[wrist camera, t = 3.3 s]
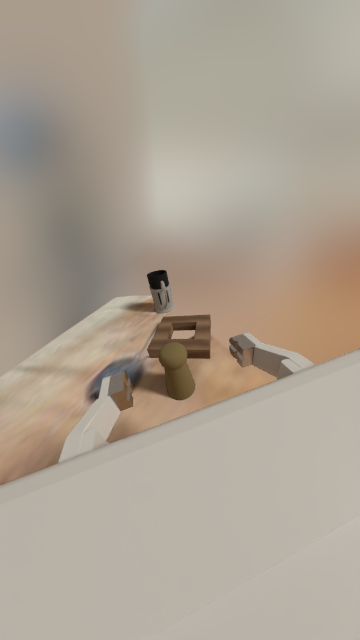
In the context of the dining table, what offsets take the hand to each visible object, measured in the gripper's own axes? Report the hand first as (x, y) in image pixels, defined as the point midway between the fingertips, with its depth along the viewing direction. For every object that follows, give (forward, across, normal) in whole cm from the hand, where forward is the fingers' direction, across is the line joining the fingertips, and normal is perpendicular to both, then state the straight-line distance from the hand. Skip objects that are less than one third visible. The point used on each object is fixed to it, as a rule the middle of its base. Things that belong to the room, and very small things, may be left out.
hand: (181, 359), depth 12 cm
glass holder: (+48, +4, -20) cm, 52 cm away
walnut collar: (+28, +5, -20) cm, 35 cm away
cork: (+12, 0, -20) cm, 24 cm away
